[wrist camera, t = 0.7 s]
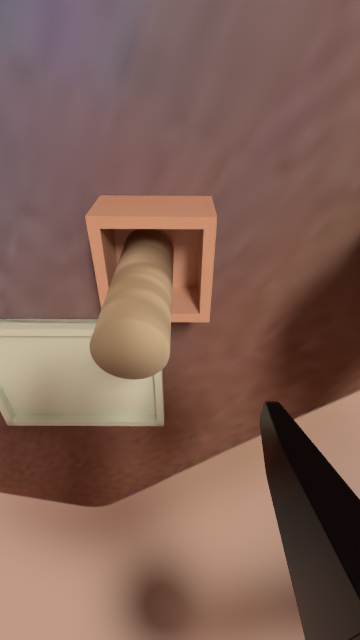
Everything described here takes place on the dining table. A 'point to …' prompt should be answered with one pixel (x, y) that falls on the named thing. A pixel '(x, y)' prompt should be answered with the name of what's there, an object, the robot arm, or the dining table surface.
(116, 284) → the dowel
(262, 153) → the dining table surface
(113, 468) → the dining table surface
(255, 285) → the dining table surface
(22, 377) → the tray
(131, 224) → the orange open box
